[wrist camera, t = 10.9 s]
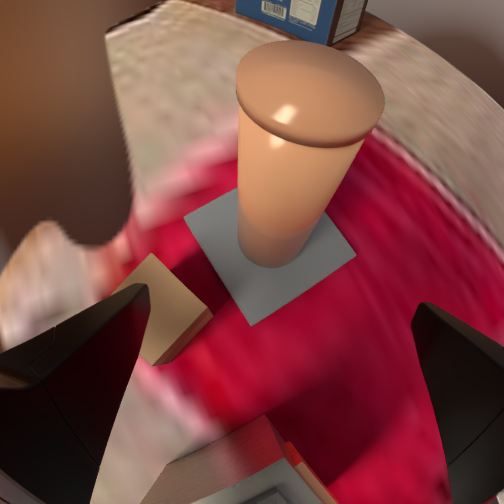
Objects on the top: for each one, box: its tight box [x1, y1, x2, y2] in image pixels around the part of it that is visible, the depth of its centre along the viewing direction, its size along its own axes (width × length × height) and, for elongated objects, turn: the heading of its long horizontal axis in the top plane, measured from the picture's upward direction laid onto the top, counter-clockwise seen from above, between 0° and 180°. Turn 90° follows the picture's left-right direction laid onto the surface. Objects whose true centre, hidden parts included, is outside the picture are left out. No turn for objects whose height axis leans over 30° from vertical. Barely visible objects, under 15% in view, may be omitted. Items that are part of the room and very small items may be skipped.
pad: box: [184, 187, 356, 327], centre depth 22 cm, size 9×9×1 cm
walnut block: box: [110, 253, 214, 366], centre depth 18 cm, size 4×4×4 cm
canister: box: [236, 40, 385, 268], centre depth 15 cm, size 5×5×14 cm
